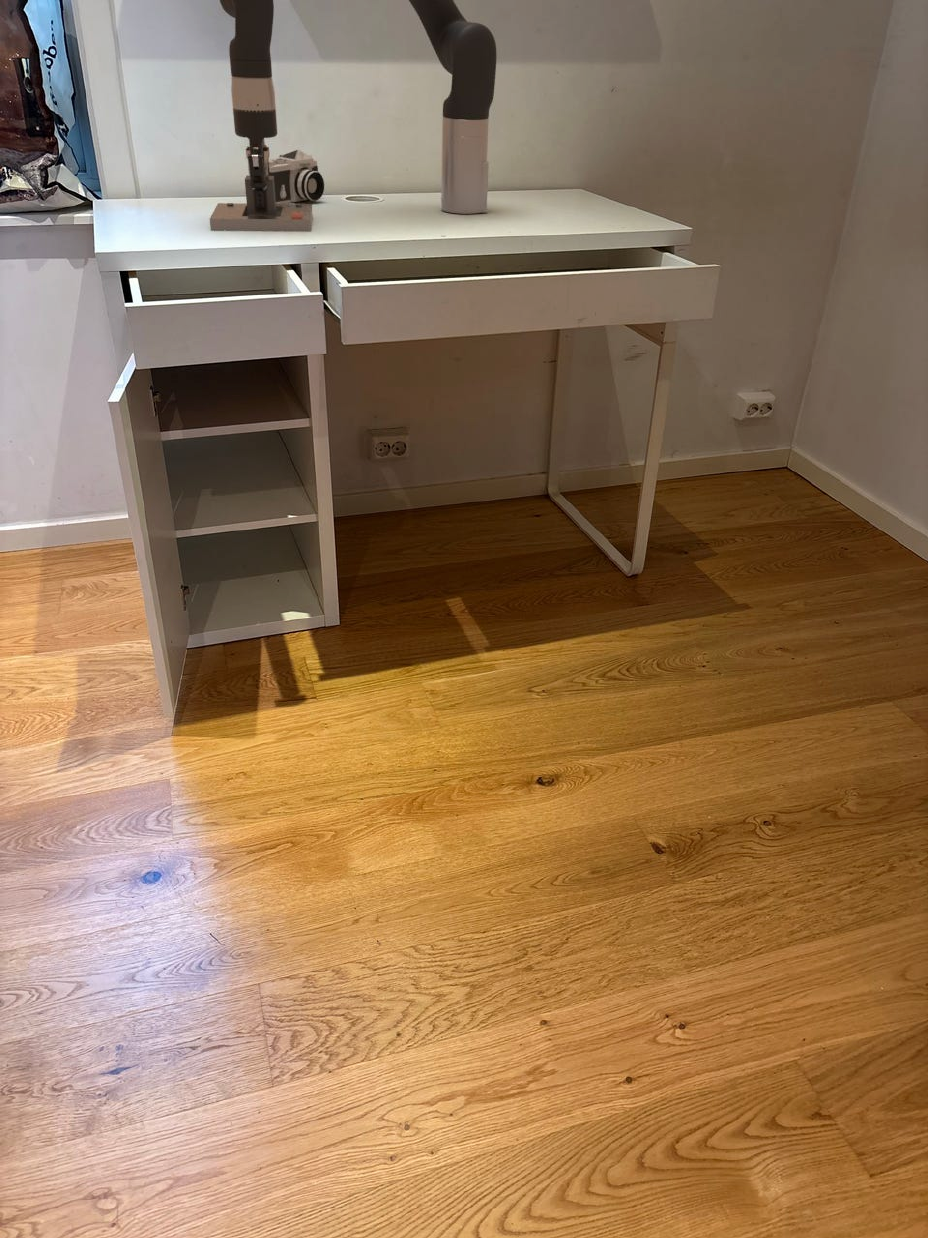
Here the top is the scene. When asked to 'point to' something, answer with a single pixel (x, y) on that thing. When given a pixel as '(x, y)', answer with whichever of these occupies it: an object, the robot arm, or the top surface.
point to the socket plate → (262, 218)
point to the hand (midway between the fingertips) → (262, 208)
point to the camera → (296, 178)
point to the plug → (269, 195)
